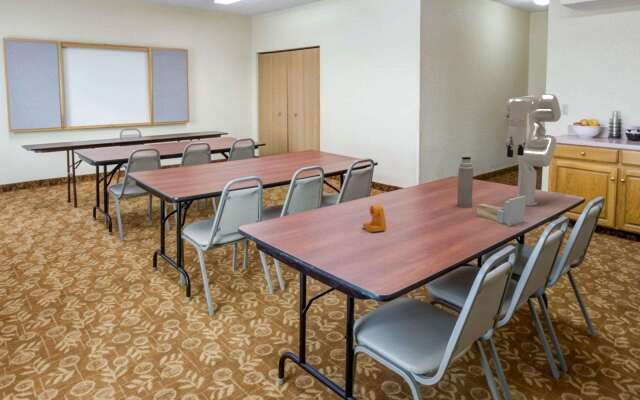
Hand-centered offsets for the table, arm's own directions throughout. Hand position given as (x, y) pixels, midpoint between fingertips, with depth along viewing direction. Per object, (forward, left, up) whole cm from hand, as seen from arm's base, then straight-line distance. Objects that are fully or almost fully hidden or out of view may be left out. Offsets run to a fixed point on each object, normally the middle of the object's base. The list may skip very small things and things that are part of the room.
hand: (515, 156), depth 263 cm
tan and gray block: (+19, +1, -30) cm, 36 cm away
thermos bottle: (+6, -26, -31) cm, 41 cm away
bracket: (+79, -24, -31) cm, 88 cm away
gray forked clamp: (+19, +10, -30) cm, 37 cm away
